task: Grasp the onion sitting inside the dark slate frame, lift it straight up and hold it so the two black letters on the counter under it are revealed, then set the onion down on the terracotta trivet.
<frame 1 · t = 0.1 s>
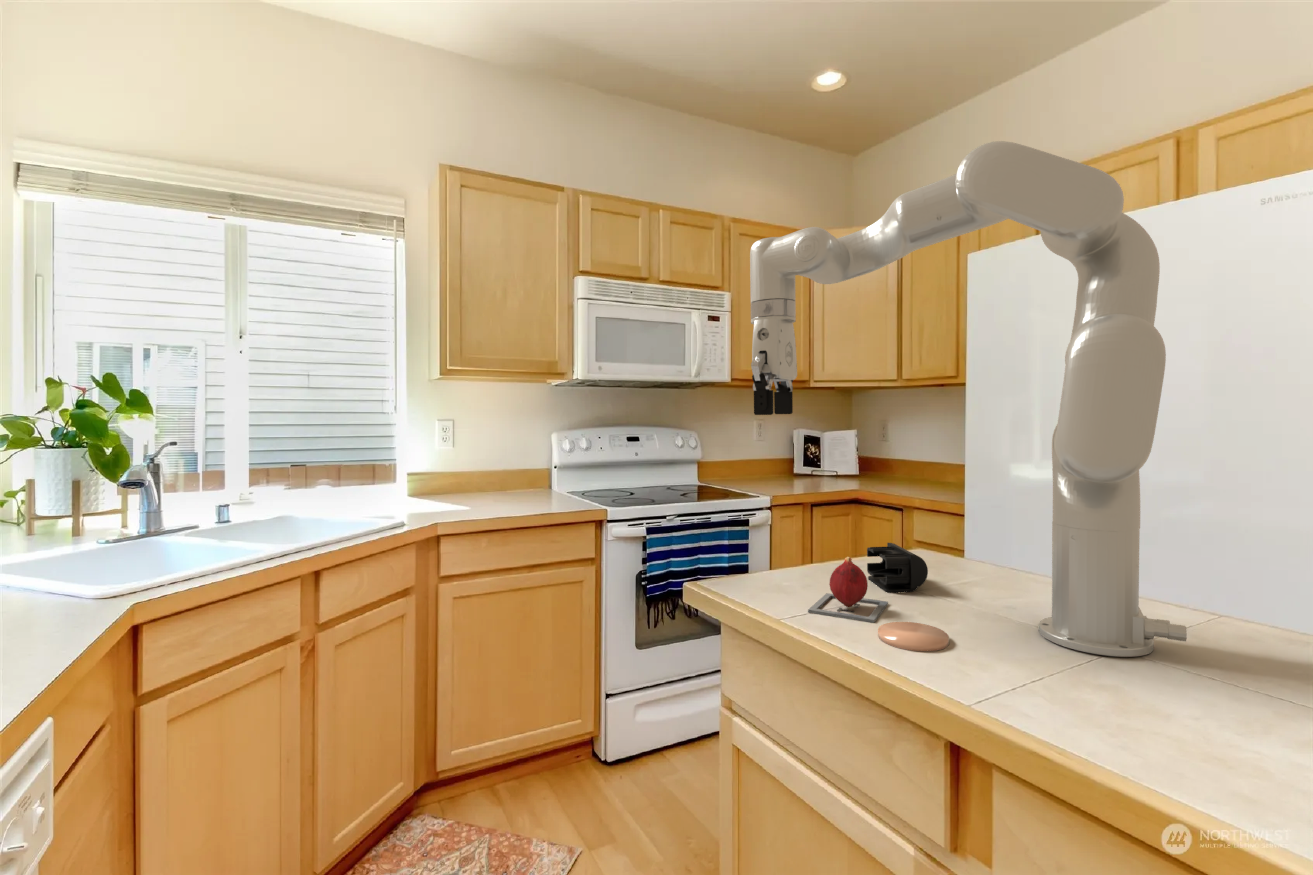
hand: (773, 414, 105), 31 cm above the counter, tool pointing down, fingers open, 9 cm apart
end cap: (896, 586, 110), on the counter
onion: (848, 608, 98), on the counter, touching code frame
code frame: (848, 608, 98), on the counter
trivet: (912, 638, 84), on the counter
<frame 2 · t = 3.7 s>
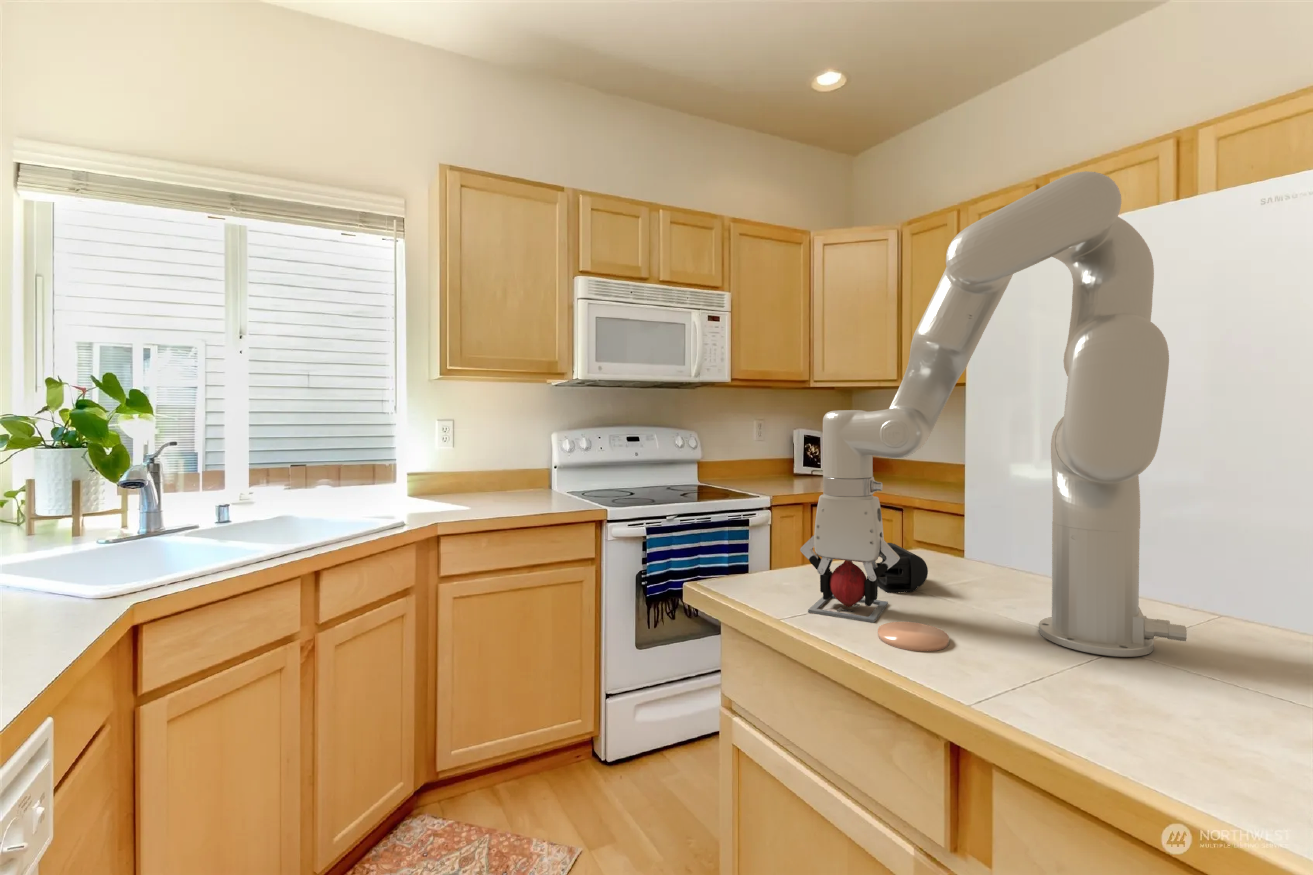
hand: (848, 599, 98), 1 cm above the counter, tool pointing down, fingers closed on onion, 5 cm apart
onion: (848, 608, 98), on the counter, touching code frame, gripper
everything else where it was.
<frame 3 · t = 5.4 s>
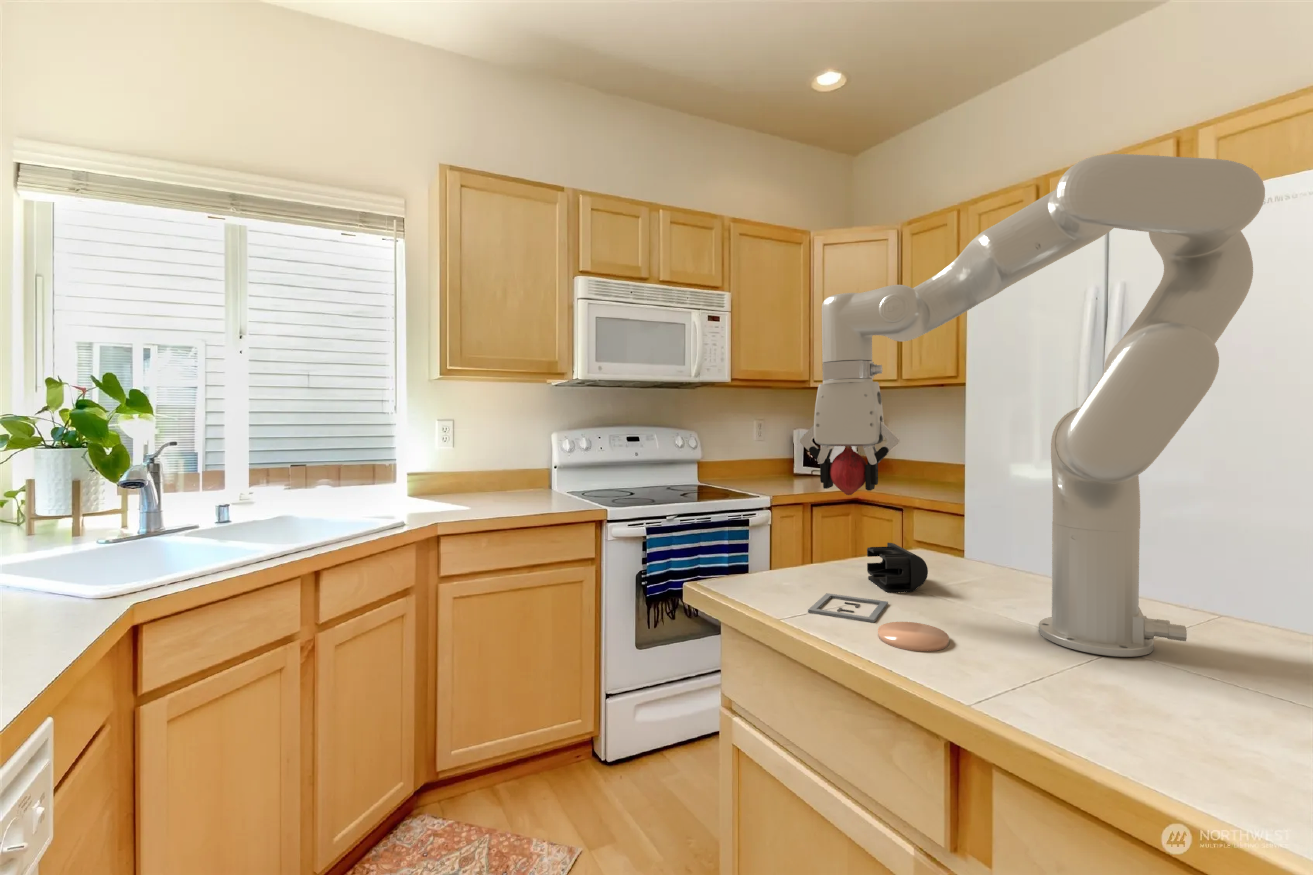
hand: (848, 487, 97), 19 cm above the counter, tool pointing down, fingers closed on onion, 5 cm apart
onion: (849, 496, 97), point 18 cm above the counter, touching gripper
everything else where it was.
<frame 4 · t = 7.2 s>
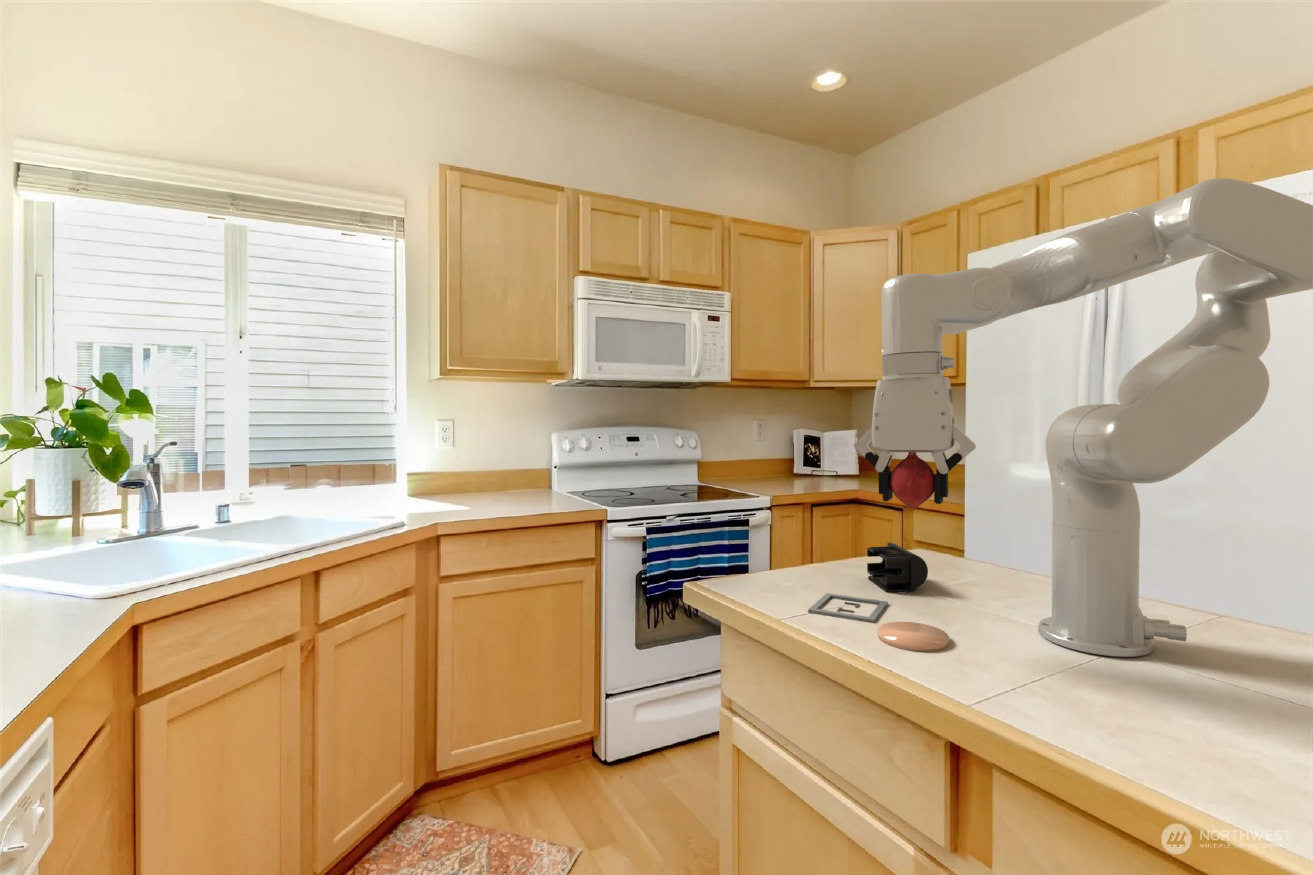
hand: (912, 499, 84), 19 cm above the counter, tool pointing down, fingers closed on onion, 5 cm apart
onion: (913, 510, 84), point 18 cm above the counter, touching gripper
everything else where it was.
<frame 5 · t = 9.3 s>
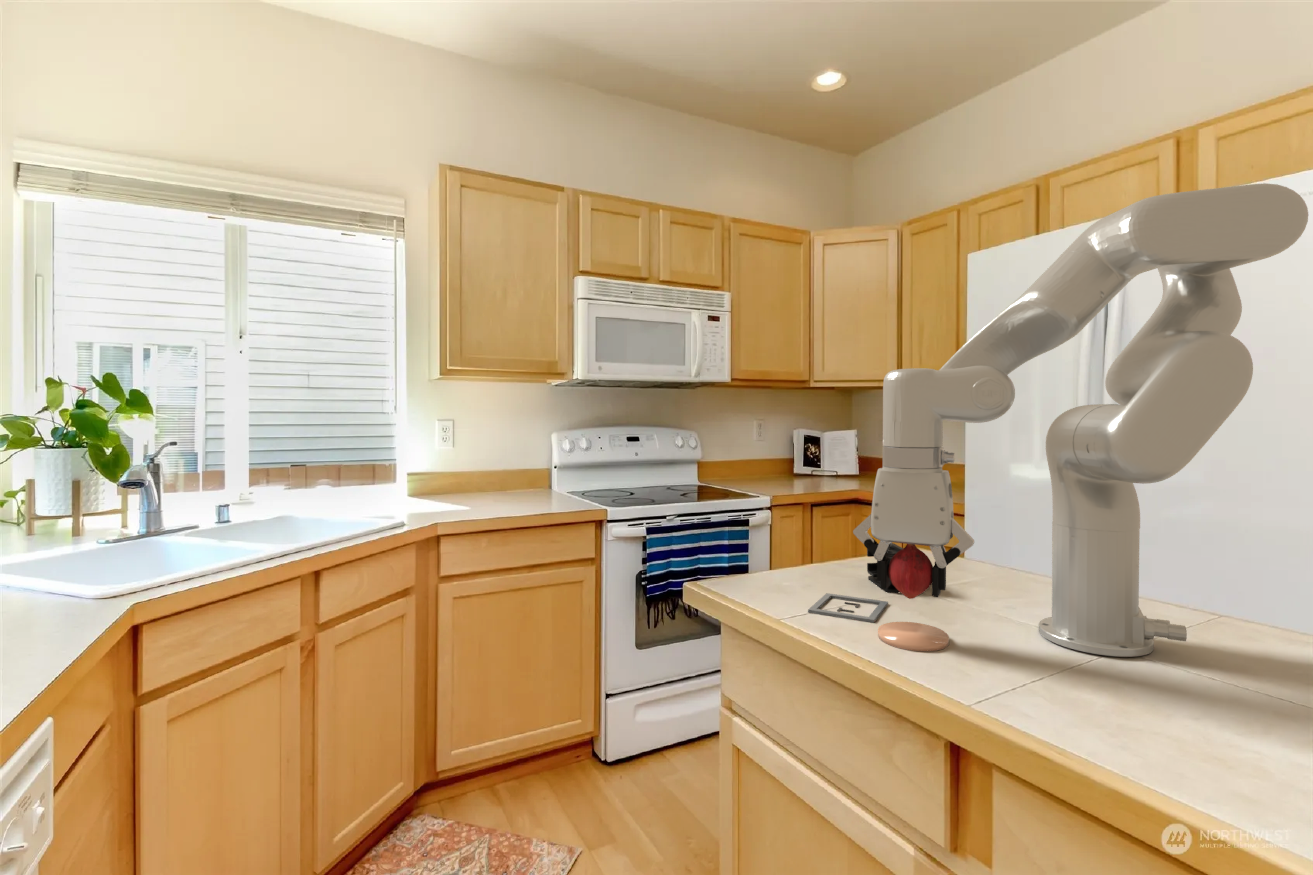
hand: (910, 589, 84), 7 cm above the counter, tool pointing down, fingers closed on onion, 5 cm apart
onion: (910, 600, 84), point 5 cm above the counter, touching gripper
everything else where it was.
when the fingers open (4 cm above the counter, at t = 10.9 s): onion drops 2 cm, resting on trivet.
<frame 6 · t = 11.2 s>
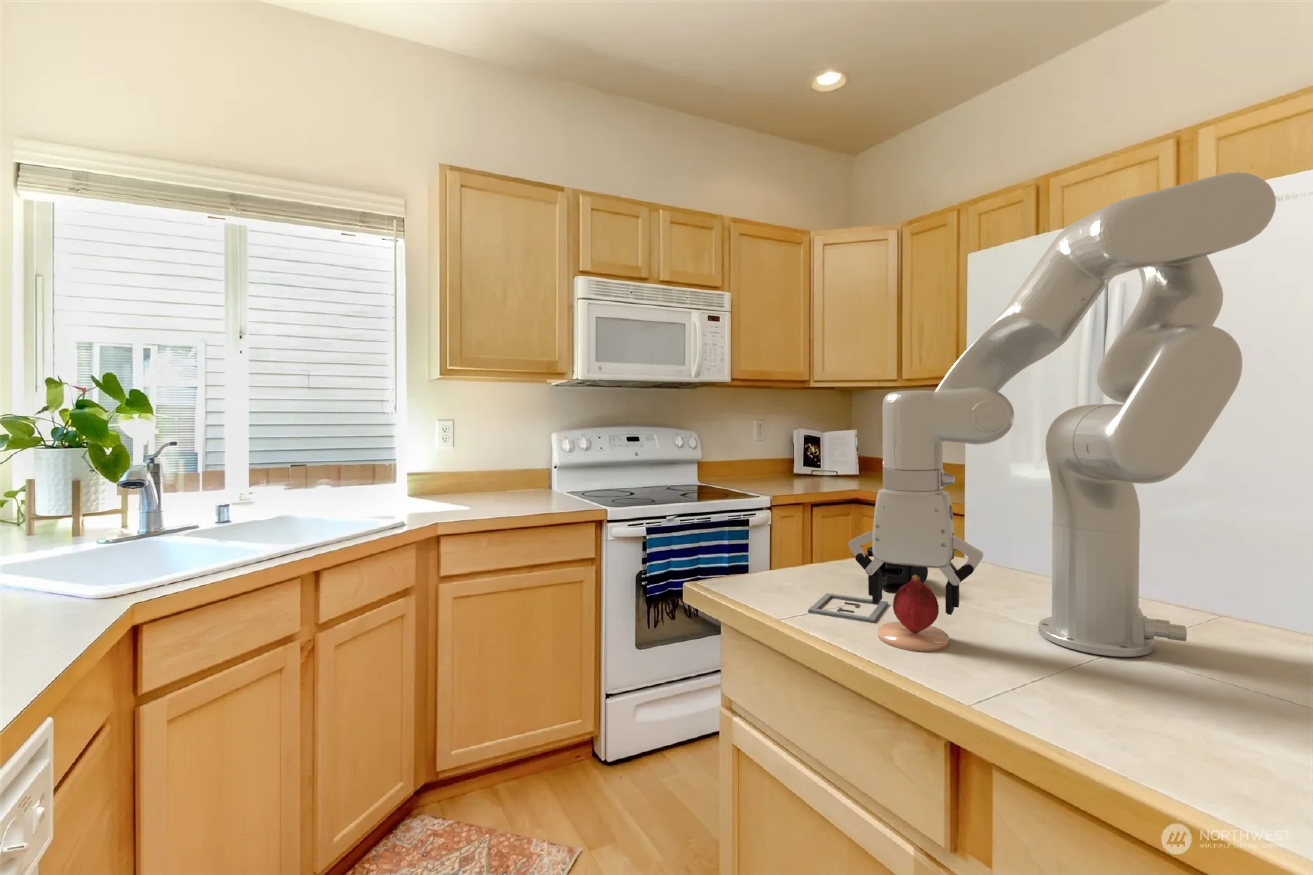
hand: (912, 606, 84), 5 cm above the counter, tool pointing down, fingers open, 9 cm apart
onion: (915, 634, 84), point 1 cm above the counter, touching trivet
everything else where it was.
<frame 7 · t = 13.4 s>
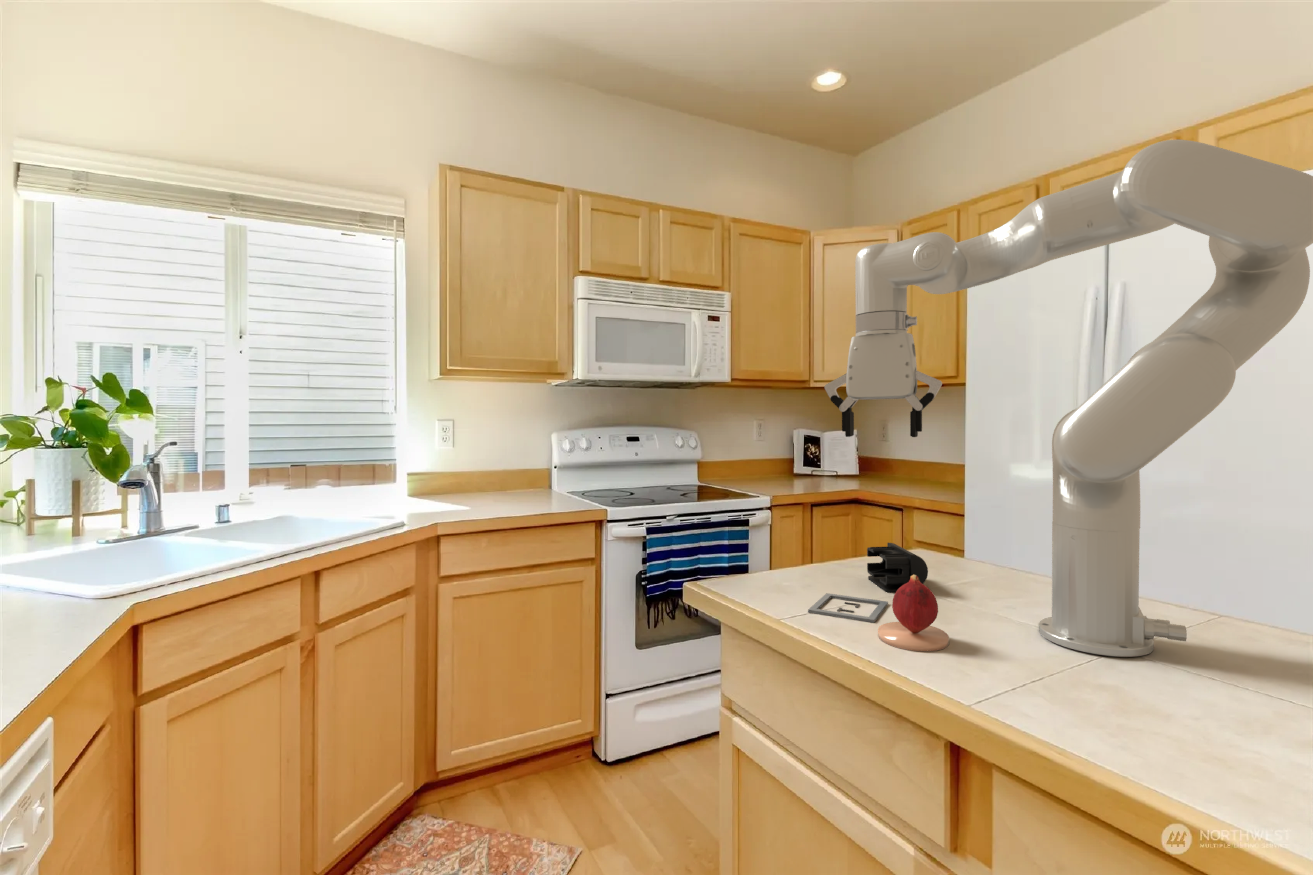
hand: (881, 436, 96), 27 cm above the counter, tool pointing down, fingers open, 9 cm apart
nothing on the counter moved.
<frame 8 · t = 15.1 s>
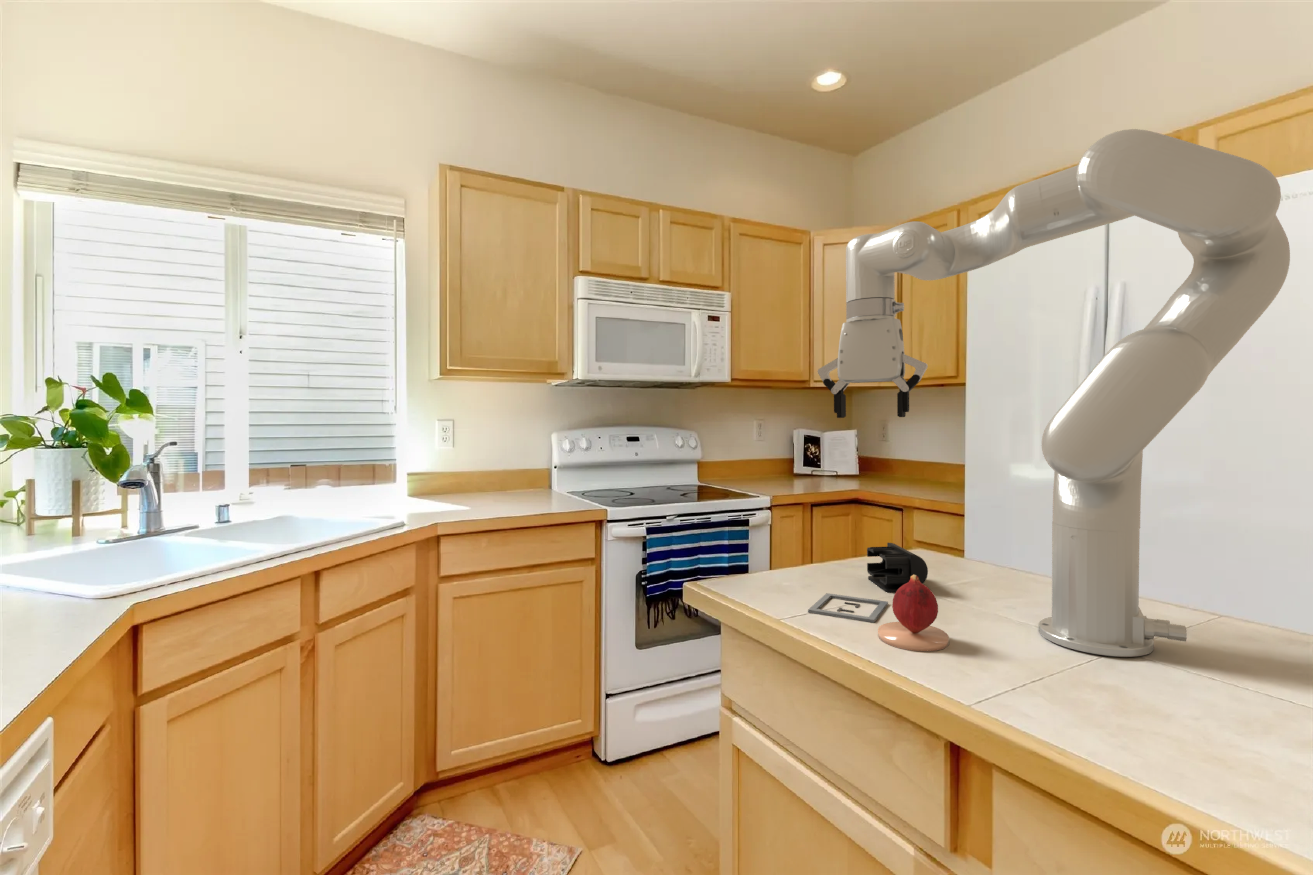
hand: (870, 417, 101), 30 cm above the counter, tool pointing down, fingers open, 9 cm apart
nothing on the counter moved.
at the end: onion inside the target area on the trivet (0.3 cm from its centre), point 0.6 cm above the trivet's base; onion moved 14.4 cm from its start; the gripper is holding nothing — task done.
